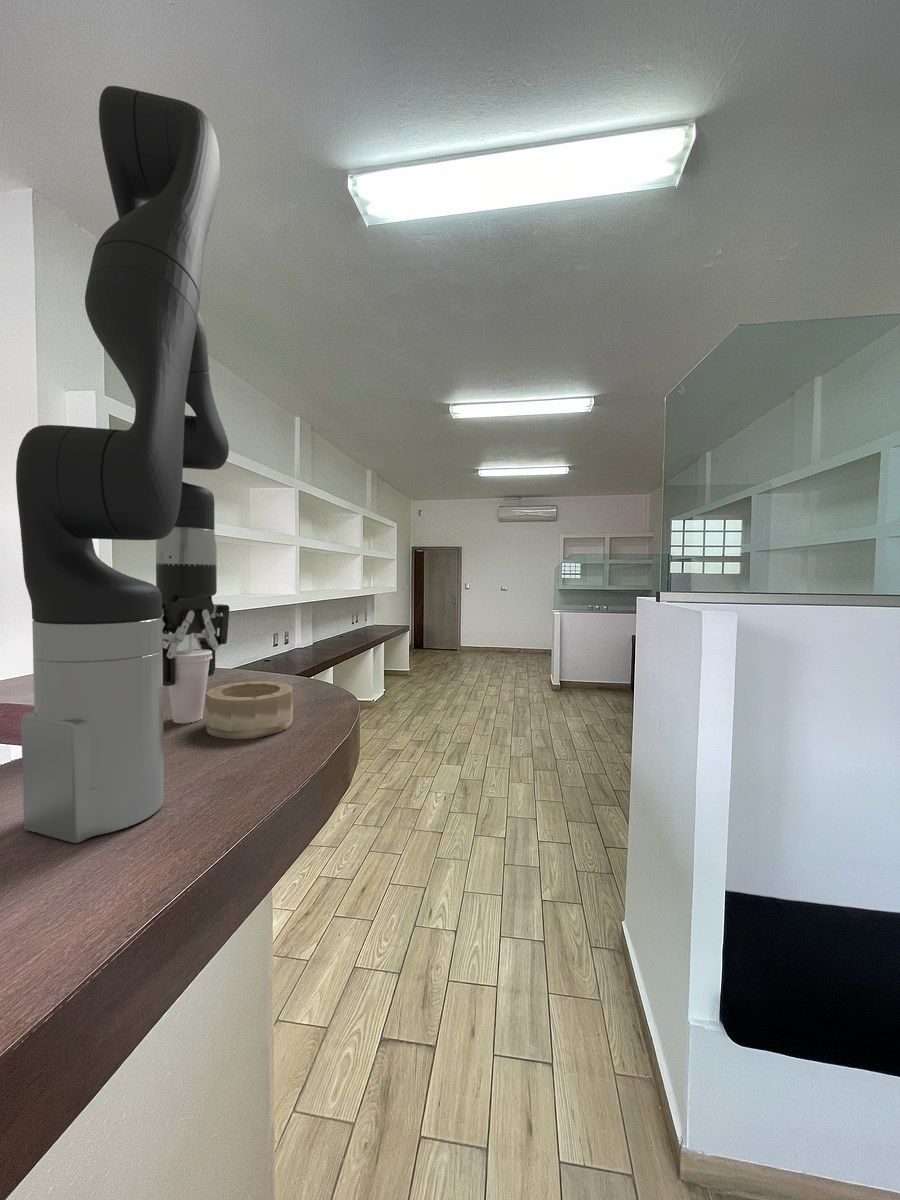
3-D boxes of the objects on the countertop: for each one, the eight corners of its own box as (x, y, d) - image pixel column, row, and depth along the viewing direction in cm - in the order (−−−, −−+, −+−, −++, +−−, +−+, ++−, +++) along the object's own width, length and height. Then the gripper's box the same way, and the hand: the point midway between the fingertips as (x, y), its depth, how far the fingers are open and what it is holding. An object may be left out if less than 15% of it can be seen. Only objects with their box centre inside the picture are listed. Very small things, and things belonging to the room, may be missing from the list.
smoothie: (198, 727, 69) (198, 624, 68) (151, 725, 69) (151, 623, 68) (220, 713, 76) (220, 619, 75) (177, 712, 76) (177, 618, 75)
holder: (257, 743, 63) (257, 704, 63) (187, 732, 67) (187, 695, 66) (308, 719, 74) (308, 685, 73) (245, 711, 77) (245, 678, 77)
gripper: (164, 561, 63) (165, 694, 64) (244, 563, 77) (244, 673, 78) (119, 560, 65) (120, 688, 66) (205, 562, 79) (205, 668, 80)
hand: (187, 679), depth 72 cm, fingers closed on smoothie, 6 cm apart
